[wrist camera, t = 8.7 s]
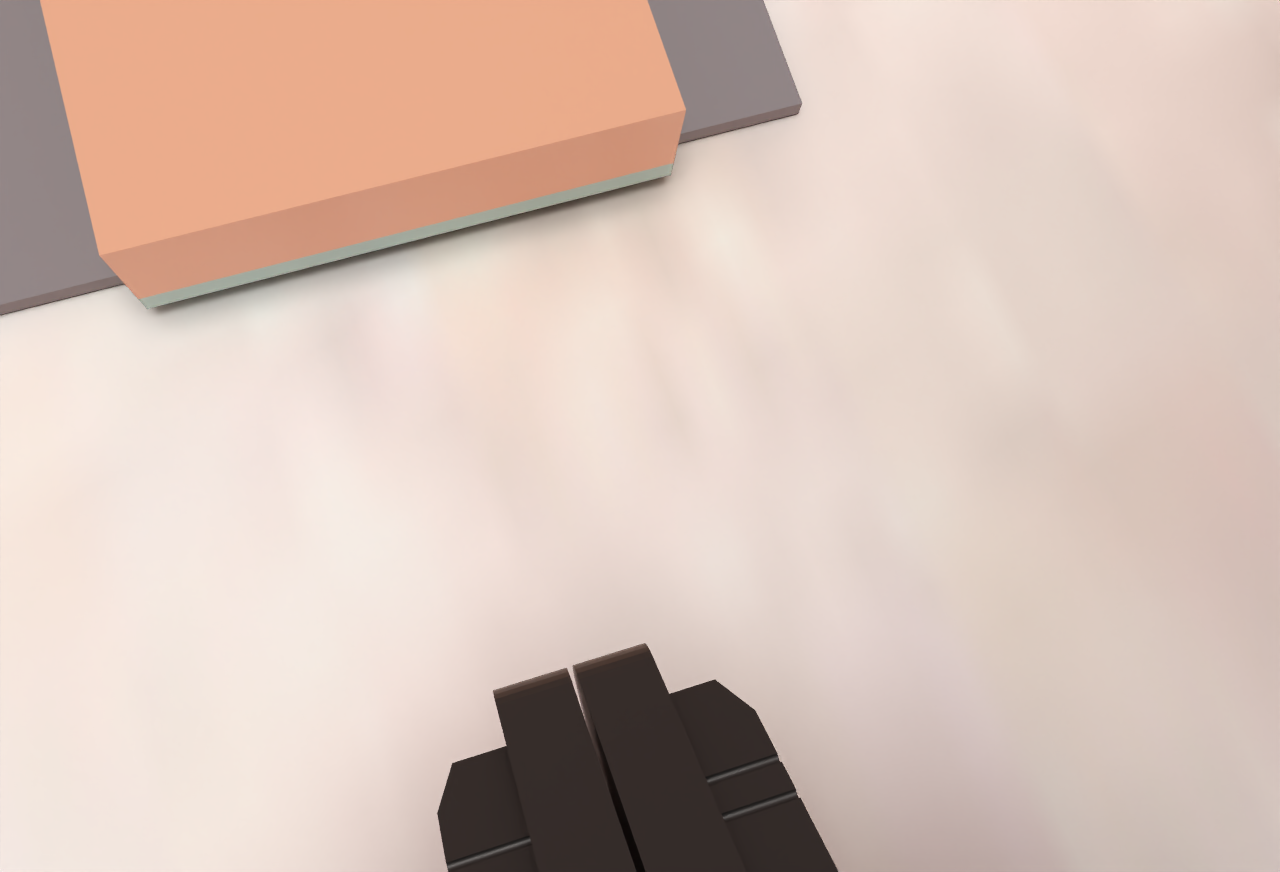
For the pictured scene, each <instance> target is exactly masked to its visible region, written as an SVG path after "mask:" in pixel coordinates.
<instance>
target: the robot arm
mask: <svg viewBox="0 0 1280 872" xmlns="http://www.w3.org/2000/svg"><path fill="white" fill-rule="evenodd" d="M573 672H574V677H575V681H576V685H577V689H578V693H579V697H580V701H581V706H582V710H583V713H582V710H581V707H580V704H579V701H578V698H577V696H576V693H575V690H574V687H573V684H572V681H571V678H570V675H569V673H568V670H567V668H564V669H561V670H558V671H555V672H551V673H548V674H545V675H542V676H538V677H535V678H532V679H529V680H526V681H522V682H519V683H516V684H513V685H509V686H506V687H503V688H500V689H496V690H493V693H494V698H495V702H496V706H497V710H498V714H499V718H500V722H501V726H502V729H503V733H504V737H505V741H506V745H507V746H505V747H502V748H499V749H496V750H493V751H489V752H486V753H483V754H480V755H477V756H474V757H471V758H467V759H464V760H461V761H458V762H455V763H452V766H451V770H450V773H449V776H448V780H447V783H446V786H445V790H444V793H443V796H442V800H441V803H440V806H439V810H438V813H437V814H438V820H439V825H440V831H441V837H442V842H443V848H444V854H445V859H446V864H447V868H448V872H838V870H837V868H836V866H835V864H834V862H833V860H832V858H831V856H830V854H829V852H828V851H827V849H826V847H825V845H824V843H823V841H822V839H821V837H820V835H819V833H818V831H817V829H816V827H815V825H814V823H813V821H812V820H811V818H810V816H809V814H808V812H807V810H806V808H805V806H804V804H803V802H802V800H801V798H798V795H797V793H796V789H795V787H794V785H793V783H792V781H791V779H790V777H789V775H788V773H787V771H786V769H785V767H784V765H783V763H782V762H780V761H779V758H778V755H777V752H776V750H775V748H774V746H773V744H772V742H771V740H770V738H769V736H768V734H767V732H766V731H765V729H764V727H763V725H762V723H761V721H760V719H759V717H758V715H757V713H756V711H755V710H754V709H753V708H751V707H750V706H749V705H748V704H746V703H745V702H744V701H742V700H741V699H740V698H738V697H737V696H736V695H734V694H733V693H732V692H730V691H729V690H728V689H727V688H725V687H724V686H723V685H721V684H720V683H719V682H717V681H716V680H712V681H709V682H706V683H703V684H699V685H696V686H693V687H690V688H687V689H684V690H681V691H677V692H674V693H671V694H669V693H668V691H667V688H666V686H665V684H664V681H663V679H662V677H661V674H660V672H659V670H658V668H657V665H656V663H655V661H654V658H653V656H652V654H651V652H650V650H649V648H648V646H647V645H646V644H645V643H644V644H641V645H637V646H634V647H631V648H628V649H625V650H621V651H618V652H615V653H612V654H608V655H605V656H602V657H599V658H595V659H592V660H589V661H586V662H583V663H579V664H576V665H573ZM583 714H584V716H583ZM584 718H585V719H584Z"/></svg>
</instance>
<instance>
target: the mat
mask: <svg viewBox="0 0 1280 872" xmlns="http://www.w3.org/2000/svg"><path fill="white" fill-rule="evenodd" d="M647 1H648V3H649V6H650V9H651V12H652V15H653V18H654V20H655V23H656V26H657V29H658V32H659V35H660V37H661V40H662V43H663V46H664V49H665V51H666V54H667V57H668V60H669V63H670V66H671V68H672V71H673V74H674V77H675V80H676V83H677V85H678V88H679V91H680V94H681V97H682V99H683V102H684V105H685V108H686V113H685V117H684V121H683V125H682V130H681V134H680V138H679V142H678V144H679V143H683V142H687V141H691V140H695V139H699V138H703V137H707V136H711V135H715V134H719V133H723V132H726V131H730V130H734V129H738V128H742V127H746V126H750V125H754V124H758V123H762V122H766V121H770V120H774V119H778V118H782V117H786V116H790V115H794V114H798V112H799V110H800V107H801V105H802V102H801V99H800V97H799V94H798V91H797V89H796V86H795V83H794V81H793V78H792V75H791V73H790V70H789V67H788V65H787V62H786V59H785V57H784V54H783V51H782V49H781V46H780V44H779V41H778V38H777V36H776V33H775V30H774V28H773V25H772V22H771V20H770V17H769V14H768V12H767V9H766V6H765V4H764V1H763V0H647ZM120 284H124V283H123V281H122V280H121V279H120V278H119V277H118V276H117V275H116V274H115V273H114V271H113V270H112V269H111V268H110V267H109V266H108V265H107V264H106V262H105V261H104V260H103V259H102V258H101V257H100V256H99V252H98V248H97V244H96V239H95V235H94V231H93V226H92V222H91V218H90V214H89V209H88V205H87V201H86V196H85V192H84V188H83V183H82V179H81V175H80V171H79V166H78V162H77V158H76V153H75V149H74V145H73V140H72V136H71V132H70V128H69V123H68V119H67V115H66V110H65V106H64V102H63V97H62V93H61V89H60V85H59V80H58V76H57V72H56V67H55V63H54V59H53V54H52V50H51V46H50V42H49V37H48V33H47V29H46V24H45V20H44V16H43V11H42V7H41V3H40V0H0V315H1V314H5V313H9V312H13V311H17V310H21V309H25V308H29V307H33V306H37V305H41V304H45V303H49V302H53V301H57V300H61V299H65V298H69V297H73V296H77V295H81V294H85V293H89V292H92V291H96V290H100V289H104V288H108V287H112V286H116V285H120Z"/></svg>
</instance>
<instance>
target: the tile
mask: <svg viewBox="0 0 1280 872" xmlns="http://www.w3.org/2000/svg"><path fill="white" fill-rule="evenodd" d="M40 3H41V7H42V11H43V16H44V20H45V24H46V29H47V33H48V37H49V42H50V46H51V50H52V54H53V59H54V63H55V67H56V72H57V76H58V80H59V85H60V89H61V93H62V97H63V102H64V106H65V110H66V115H67V119H68V123H69V128H70V132H71V136H72V140H73V145H74V149H75V153H76V158H77V162H78V166H79V171H80V175H81V179H82V183H83V188H84V192H85V196H86V201H87V205H88V209H89V214H90V218H91V222H92V226H93V231H94V235H95V239H96V244H97V248H98V252H99V256H100V257H101V258H102V259H103V260H104V261H105V262H106V264H107V265H108V266H109V267H110V268H111V269H112V270H113V271H114V273H115V274H116V275H117V276H118V277H119V278H120V279H121V280H122V281H123V283H124V284H125V285H126V286H127V287H128V288H129V289H130V290H131V291H132V293H133V294H134V295H135V296H136V297H137V298H138V299H139V300H140V301H141V303H142V304H143V305H144V306H145V307H146V308H147V309H149V308H153V307H157V306H161V305H165V304H169V303H173V302H177V301H180V300H184V299H188V298H192V297H196V296H200V295H204V294H208V293H212V292H216V291H219V290H223V289H227V288H231V287H235V286H239V285H243V284H247V283H251V282H255V281H259V280H262V279H266V278H270V277H274V276H278V275H282V274H286V273H290V272H294V271H298V270H301V269H305V268H309V267H313V266H317V265H321V264H325V263H329V262H333V261H337V260H341V259H344V258H348V257H352V256H356V255H360V254H364V253H368V252H372V251H376V250H380V249H383V248H387V247H391V246H395V245H399V244H403V243H407V242H411V241H415V240H419V239H423V238H426V237H430V236H434V235H438V234H442V233H446V232H450V231H454V230H458V229H462V228H465V227H469V226H473V225H477V224H481V223H485V222H489V221H493V220H497V219H501V218H504V217H508V216H512V215H516V214H520V213H524V212H528V211H532V210H536V209H540V208H544V207H547V206H551V205H555V204H559V203H563V202H567V201H571V200H575V199H579V198H583V197H586V196H590V195H594V194H598V193H602V192H606V191H610V190H614V189H618V188H622V187H626V186H629V185H633V184H637V183H641V182H645V181H649V180H653V179H657V178H661V177H665V176H668V175H671V172H672V168H673V163H674V159H675V155H676V151H677V147H678V142H679V138H680V134H681V130H682V125H683V121H684V117H685V113H686V108H685V105H684V102H683V99H682V97H681V94H680V91H679V88H678V85H677V83H676V80H675V77H674V74H673V71H672V68H671V66H670V63H669V60H668V57H667V54H666V51H665V49H664V46H663V43H662V40H661V37H660V35H659V32H658V29H657V26H656V23H655V20H654V18H653V15H652V12H651V9H650V6H649V3H648V1H647V0H40Z"/></svg>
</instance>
